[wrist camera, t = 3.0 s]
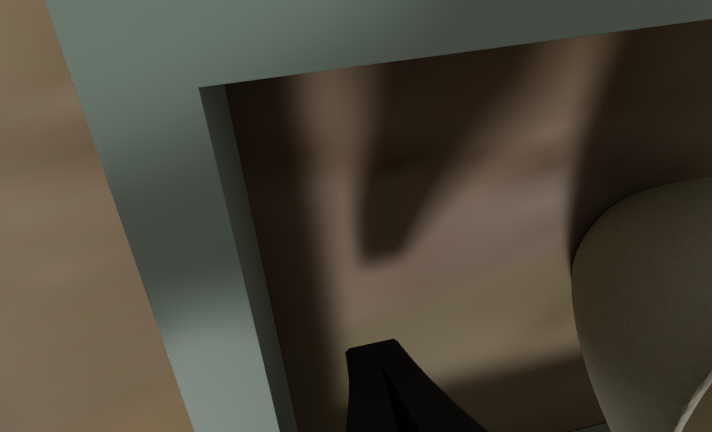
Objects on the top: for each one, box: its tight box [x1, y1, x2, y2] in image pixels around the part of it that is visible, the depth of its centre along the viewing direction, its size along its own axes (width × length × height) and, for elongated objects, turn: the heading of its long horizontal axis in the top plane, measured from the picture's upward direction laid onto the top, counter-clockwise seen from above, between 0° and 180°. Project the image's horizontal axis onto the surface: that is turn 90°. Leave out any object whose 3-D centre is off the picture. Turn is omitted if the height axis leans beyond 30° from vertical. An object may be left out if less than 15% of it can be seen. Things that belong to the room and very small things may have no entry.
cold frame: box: [45, 0, 712, 432], centre depth 14 cm, size 20×23×5 cm
